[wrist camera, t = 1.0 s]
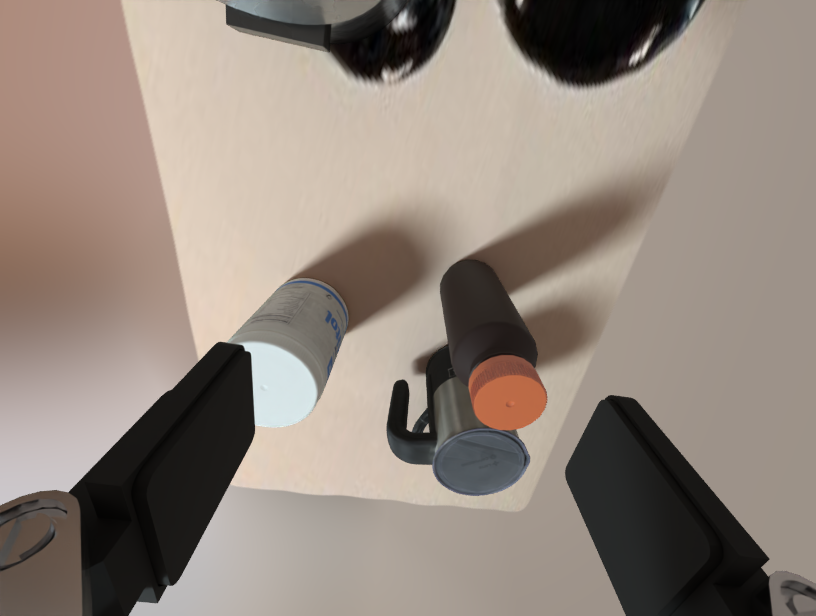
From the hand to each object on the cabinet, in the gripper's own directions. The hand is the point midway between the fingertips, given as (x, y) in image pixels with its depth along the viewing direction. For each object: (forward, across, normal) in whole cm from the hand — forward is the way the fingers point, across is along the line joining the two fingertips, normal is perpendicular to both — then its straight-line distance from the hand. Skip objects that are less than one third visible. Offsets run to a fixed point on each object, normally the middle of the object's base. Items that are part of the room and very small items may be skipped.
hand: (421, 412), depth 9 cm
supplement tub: (+31, +11, +14) cm, 36 cm away
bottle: (+31, -8, +8) cm, 33 cm away
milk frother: (+31, -9, +24) cm, 40 cm away
